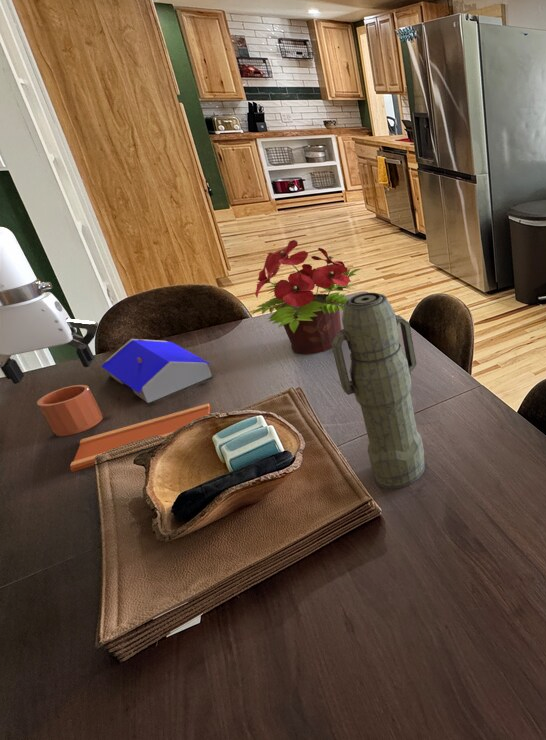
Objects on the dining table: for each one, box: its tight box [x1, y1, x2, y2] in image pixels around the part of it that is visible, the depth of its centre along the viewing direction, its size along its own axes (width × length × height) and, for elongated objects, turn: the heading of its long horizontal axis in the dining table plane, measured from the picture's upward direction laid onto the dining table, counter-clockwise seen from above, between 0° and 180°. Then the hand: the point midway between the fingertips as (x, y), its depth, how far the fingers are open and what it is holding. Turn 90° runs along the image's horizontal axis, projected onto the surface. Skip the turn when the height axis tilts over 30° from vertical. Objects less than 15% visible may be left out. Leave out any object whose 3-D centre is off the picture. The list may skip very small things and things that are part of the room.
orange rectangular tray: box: [69, 402, 211, 473], centre depth 96 cm, size 20×10×1 cm, turn 126°
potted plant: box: [251, 239, 363, 355], centre depth 124 cm, size 30×27×30 cm
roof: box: [100, 338, 213, 404], centre depth 114 cm, size 22×14×7 cm, turn 60°
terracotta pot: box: [36, 384, 104, 437], centre depth 97 cm, size 7×7×8 cm
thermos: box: [331, 292, 426, 490], centre depth 80 cm, size 9×12×35 cm
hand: (54, 371), depth 94 cm, fingers open, 9 cm apart
